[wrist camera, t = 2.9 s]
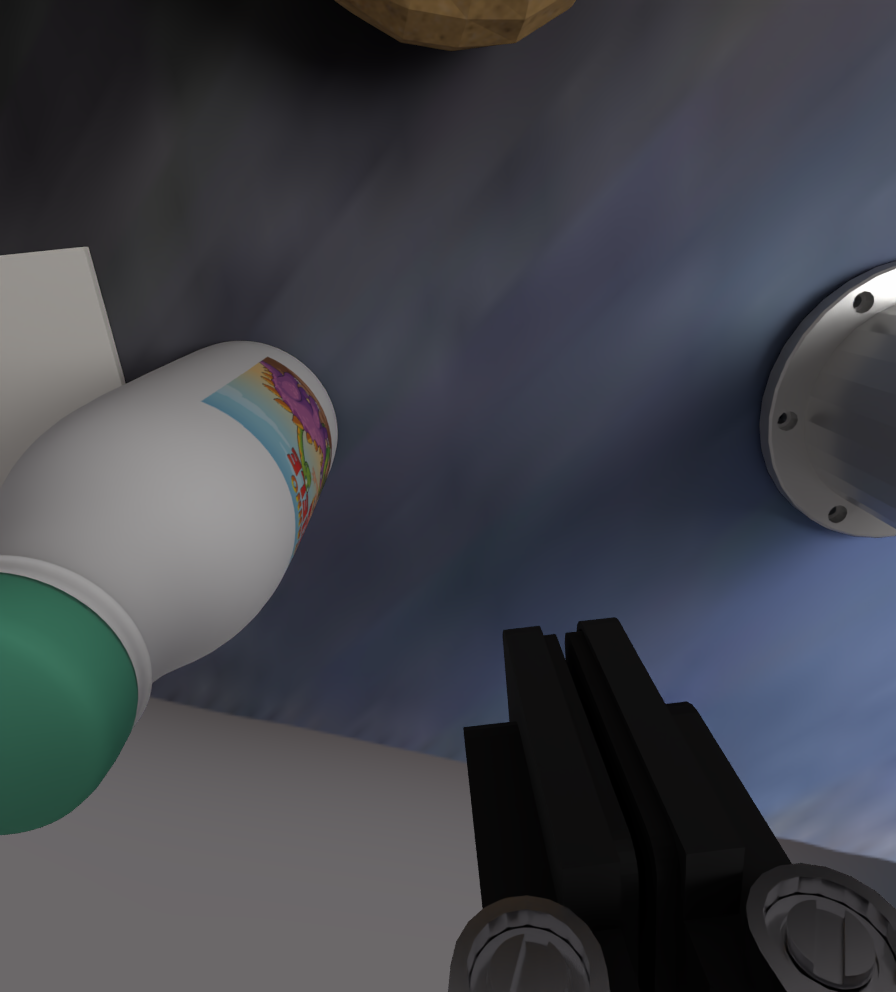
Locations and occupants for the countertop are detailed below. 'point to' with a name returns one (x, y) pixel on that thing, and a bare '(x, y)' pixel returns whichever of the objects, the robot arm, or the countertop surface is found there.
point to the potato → (457, 20)
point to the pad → (50, 345)
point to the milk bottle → (144, 553)
